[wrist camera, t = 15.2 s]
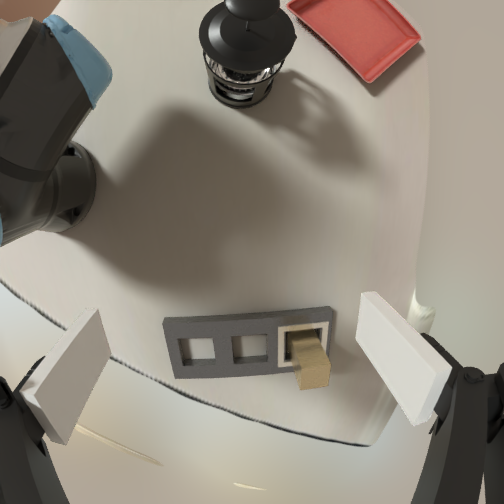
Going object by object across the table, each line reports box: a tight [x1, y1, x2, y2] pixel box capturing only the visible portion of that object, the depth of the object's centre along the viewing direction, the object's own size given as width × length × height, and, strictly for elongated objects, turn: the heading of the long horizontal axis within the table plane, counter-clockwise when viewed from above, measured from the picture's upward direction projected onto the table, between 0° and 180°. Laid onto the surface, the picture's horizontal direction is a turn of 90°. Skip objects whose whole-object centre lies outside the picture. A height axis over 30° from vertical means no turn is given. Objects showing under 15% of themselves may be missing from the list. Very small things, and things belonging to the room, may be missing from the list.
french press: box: [199, 0, 297, 108], centre depth 26 cm, size 12×9×23 cm
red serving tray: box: [286, 0, 421, 83], centre depth 33 cm, size 18×18×3 cm
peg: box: [287, 329, 331, 390], centre depth 45 cm, size 4×4×11 cm
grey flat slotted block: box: [162, 306, 333, 379], centre depth 48 cm, size 28×12×2 cm, turn 92°
